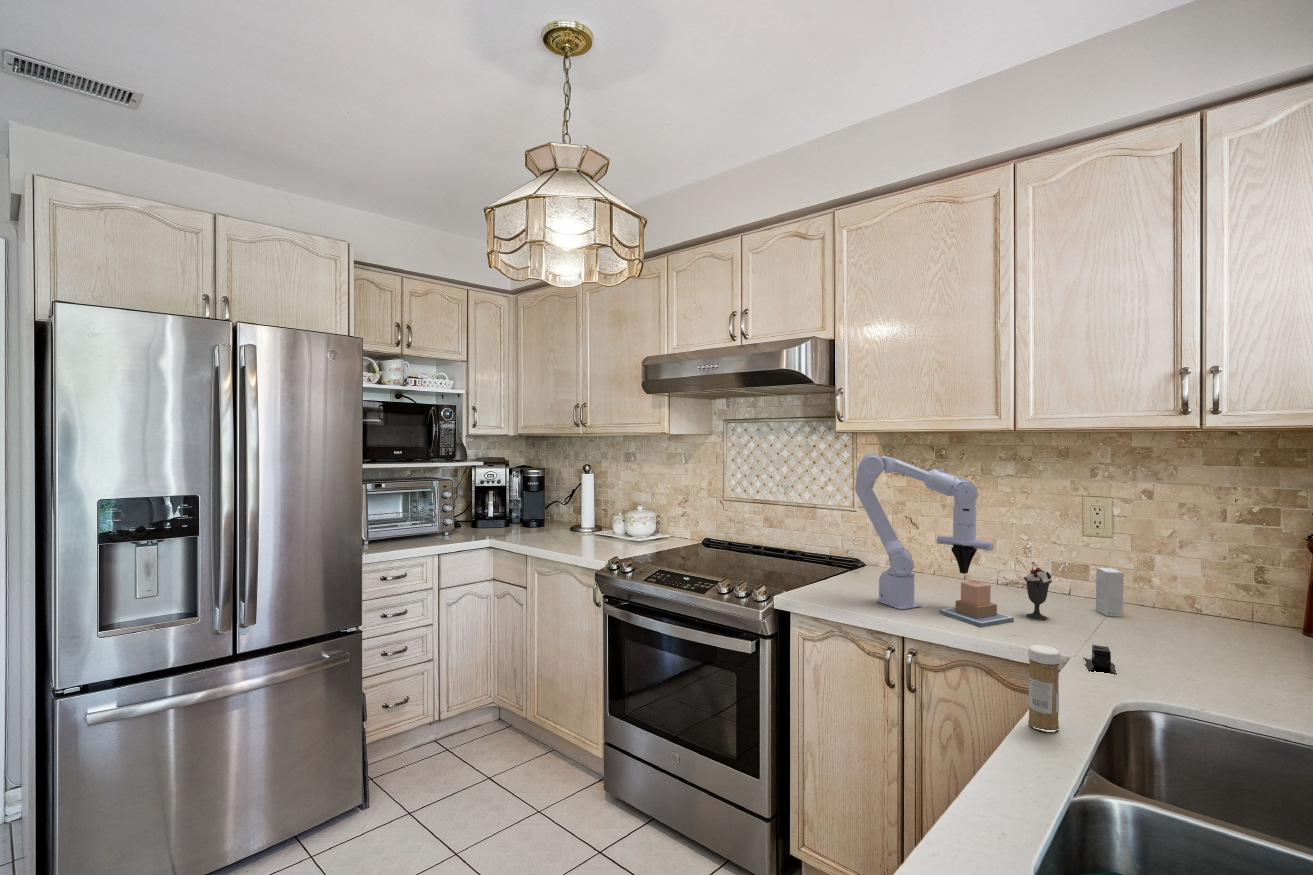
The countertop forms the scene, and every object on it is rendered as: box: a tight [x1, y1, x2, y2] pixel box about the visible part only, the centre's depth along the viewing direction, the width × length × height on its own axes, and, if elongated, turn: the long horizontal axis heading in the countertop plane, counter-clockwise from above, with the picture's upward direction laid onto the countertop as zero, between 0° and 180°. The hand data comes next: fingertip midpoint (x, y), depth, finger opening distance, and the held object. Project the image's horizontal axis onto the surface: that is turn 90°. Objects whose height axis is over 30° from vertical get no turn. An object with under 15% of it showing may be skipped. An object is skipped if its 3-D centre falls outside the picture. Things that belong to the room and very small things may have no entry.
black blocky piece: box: [1083, 644, 1117, 675], centre depth 134 cm, size 12×7×5 cm, turn 151°
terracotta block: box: [960, 580, 991, 606], centre depth 169 cm, size 5×5×5 cm
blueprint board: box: [939, 599, 1015, 628], centre depth 169 cm, size 13×12×4 cm
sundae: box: [1023, 561, 1053, 621], centre depth 169 cm, size 7×7×15 cm
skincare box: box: [1095, 567, 1124, 618], centre depth 173 cm, size 6×4×12 cm
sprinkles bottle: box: [1027, 644, 1061, 730], centre depth 107 cm, size 5×5×14 cm
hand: (963, 572), depth 175 cm, fingers closed
